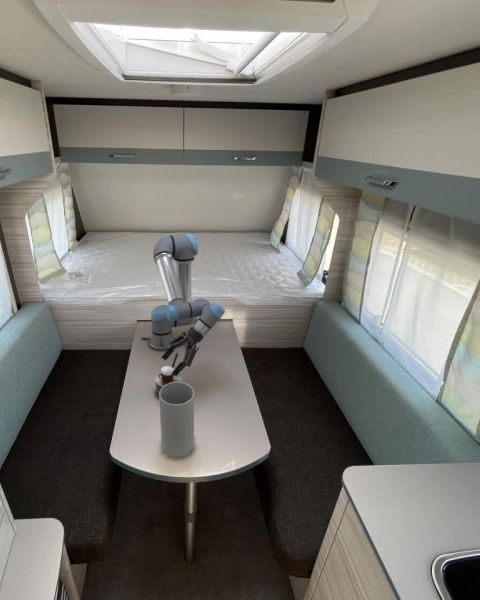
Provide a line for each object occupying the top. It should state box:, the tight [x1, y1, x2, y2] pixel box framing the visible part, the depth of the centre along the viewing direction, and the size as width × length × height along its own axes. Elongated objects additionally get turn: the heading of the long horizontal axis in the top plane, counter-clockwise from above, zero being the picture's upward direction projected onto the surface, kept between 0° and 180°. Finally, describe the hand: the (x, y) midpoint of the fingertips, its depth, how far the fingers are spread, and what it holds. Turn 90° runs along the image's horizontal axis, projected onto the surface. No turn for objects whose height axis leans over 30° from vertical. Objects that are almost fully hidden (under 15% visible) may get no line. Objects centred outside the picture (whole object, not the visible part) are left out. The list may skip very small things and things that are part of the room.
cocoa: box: [158, 352, 179, 381], centre depth 149 cm, size 10×6×12 cm, turn 97°
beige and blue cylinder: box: [154, 371, 183, 398], centre depth 153 cm, size 12×12×8 cm
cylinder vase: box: [158, 381, 195, 458], centre depth 122 cm, size 12×12×25 cm
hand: (168, 366), depth 150 cm, fingers open, 13 cm apart
